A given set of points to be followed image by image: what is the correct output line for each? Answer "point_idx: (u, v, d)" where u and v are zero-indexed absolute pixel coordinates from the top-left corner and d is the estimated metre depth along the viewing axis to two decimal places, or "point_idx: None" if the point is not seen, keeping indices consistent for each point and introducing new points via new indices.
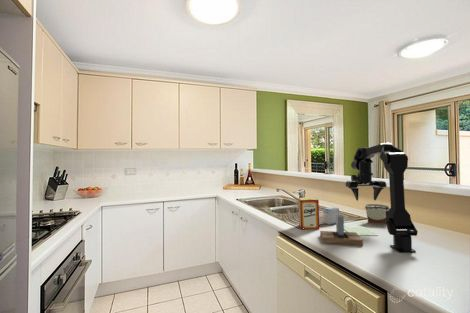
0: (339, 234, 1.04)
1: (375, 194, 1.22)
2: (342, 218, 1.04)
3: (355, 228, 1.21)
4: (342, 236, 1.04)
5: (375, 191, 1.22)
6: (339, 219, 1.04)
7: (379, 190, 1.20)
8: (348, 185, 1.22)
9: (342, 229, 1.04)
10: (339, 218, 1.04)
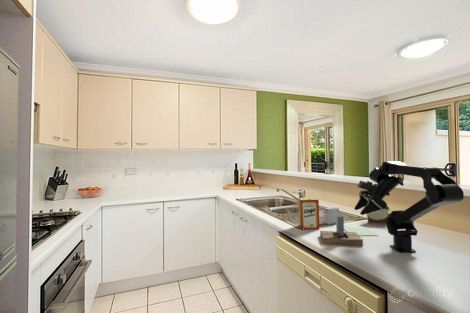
0: (339, 234, 1.04)
1: (361, 205, 1.08)
2: (342, 218, 1.04)
3: (355, 228, 1.21)
4: (342, 236, 1.04)
5: (363, 203, 1.08)
6: (339, 219, 1.04)
7: None
8: (381, 204, 0.93)
9: (342, 229, 1.04)
10: (339, 218, 1.04)
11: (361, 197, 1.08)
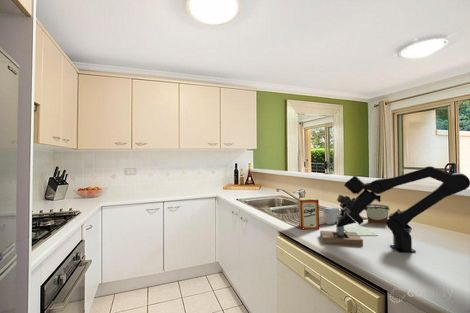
0: (339, 234, 1.04)
1: None
2: None
3: (355, 228, 1.21)
4: (342, 236, 1.04)
5: None
6: (339, 219, 1.04)
7: None
8: (357, 220, 0.95)
9: (342, 229, 1.04)
10: (339, 218, 1.04)
11: (342, 211, 1.07)
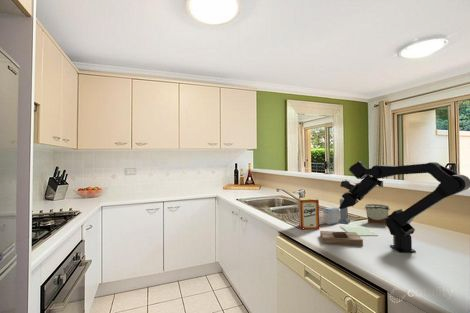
0: (341, 216, 1.11)
1: None
2: None
3: (355, 228, 1.21)
4: (344, 218, 1.10)
5: None
6: (341, 202, 1.11)
7: None
8: (349, 201, 1.02)
9: (344, 212, 1.10)
10: (341, 201, 1.11)
11: None
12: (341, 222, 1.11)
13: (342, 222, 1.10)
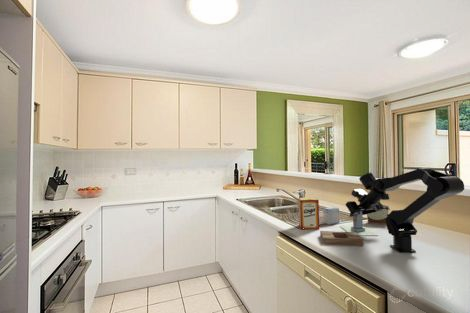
0: (354, 223, 1.18)
1: (364, 212, 1.17)
2: None
3: None
4: (356, 226, 1.17)
5: (366, 210, 1.17)
6: None
7: (371, 212, 1.15)
8: (350, 209, 1.10)
9: (356, 220, 1.16)
10: None
11: None
12: (353, 229, 1.18)
13: (353, 229, 1.17)
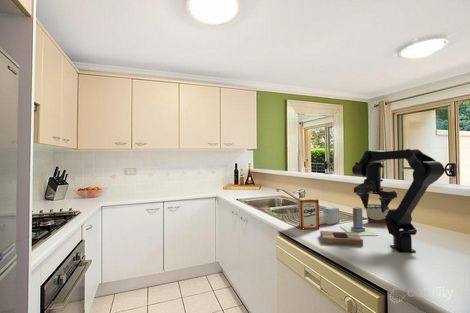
0: (354, 223, 1.18)
1: (366, 201, 1.12)
2: (356, 210, 1.16)
3: None
4: (356, 226, 1.17)
5: (365, 198, 1.12)
6: (354, 210, 1.18)
7: None
8: (394, 195, 0.99)
9: (356, 220, 1.16)
10: (354, 209, 1.18)
11: (361, 195, 1.12)
12: (353, 229, 1.18)
13: (353, 229, 1.17)
